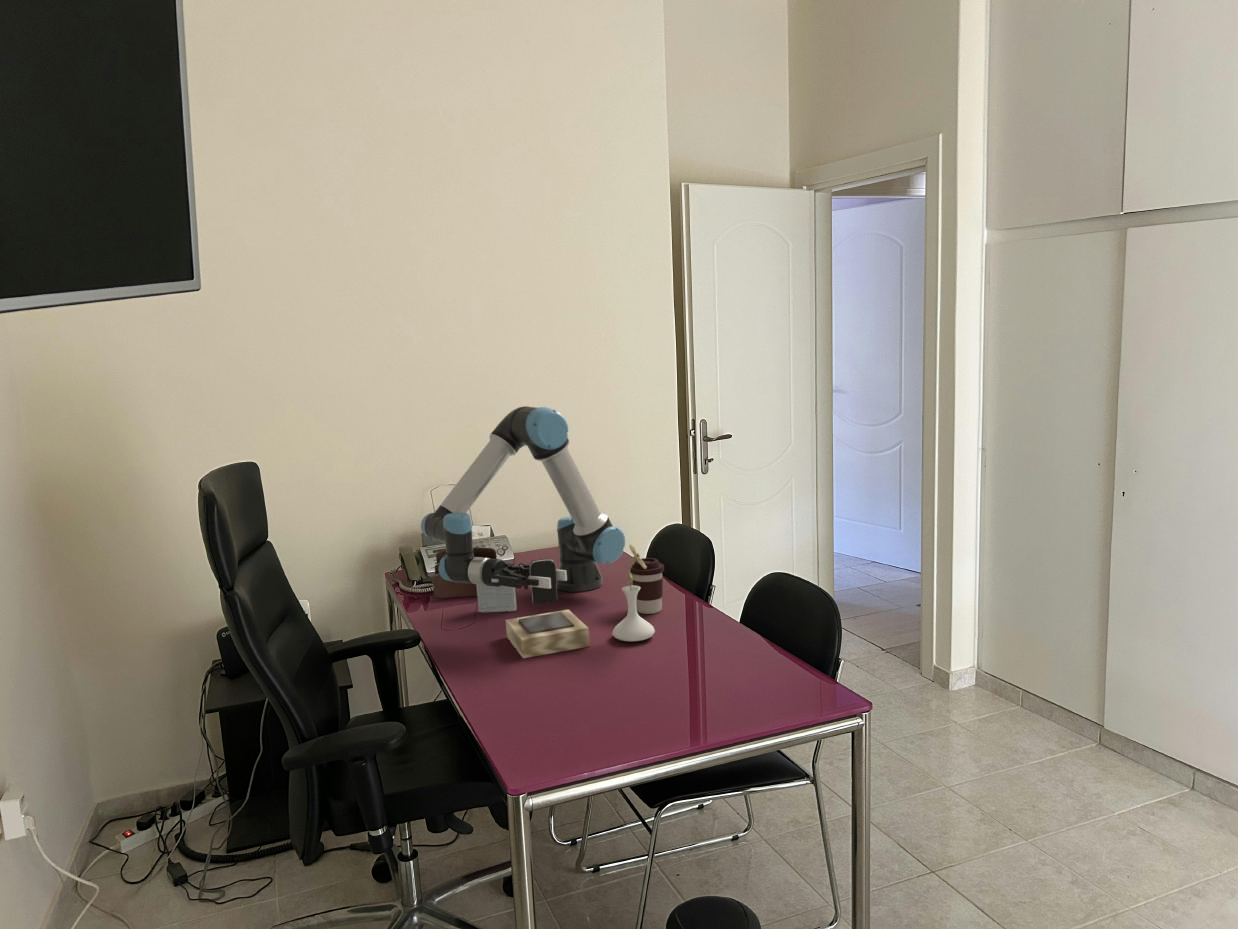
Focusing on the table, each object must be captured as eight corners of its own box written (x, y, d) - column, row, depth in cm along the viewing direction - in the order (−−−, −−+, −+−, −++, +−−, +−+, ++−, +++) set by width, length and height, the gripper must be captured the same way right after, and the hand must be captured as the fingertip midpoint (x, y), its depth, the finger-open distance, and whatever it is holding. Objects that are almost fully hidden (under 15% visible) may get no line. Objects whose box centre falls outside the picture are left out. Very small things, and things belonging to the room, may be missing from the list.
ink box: (517, 609, 275) (514, 572, 273) (515, 612, 272) (512, 574, 270) (479, 610, 276) (476, 573, 274) (477, 613, 273) (474, 575, 272)
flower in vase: (651, 645, 237) (646, 552, 233) (608, 645, 239) (602, 552, 235) (659, 629, 249) (654, 540, 246) (618, 628, 252) (613, 540, 248)
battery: (556, 597, 245) (553, 556, 244) (558, 601, 242) (555, 559, 240) (530, 600, 244) (527, 559, 242) (532, 604, 240) (529, 562, 238)
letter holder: (439, 590, 301) (435, 548, 298) (499, 586, 301) (496, 545, 299) (434, 599, 291) (430, 556, 289) (496, 595, 291) (492, 552, 289)
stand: (569, 626, 256) (568, 607, 255) (589, 646, 239) (588, 625, 238) (506, 637, 250) (505, 617, 249) (523, 658, 233) (521, 637, 232)
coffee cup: (627, 614, 263) (624, 564, 261) (639, 604, 272) (636, 555, 270) (659, 617, 259) (656, 566, 257) (670, 606, 268) (668, 557, 266)
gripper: (511, 575, 260) (579, 583, 248) (466, 595, 243) (537, 604, 231) (509, 550, 258) (577, 556, 247) (464, 567, 242) (535, 575, 230)
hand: (558, 579), depth 239 cm, fingers closed on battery, 7 cm apart
